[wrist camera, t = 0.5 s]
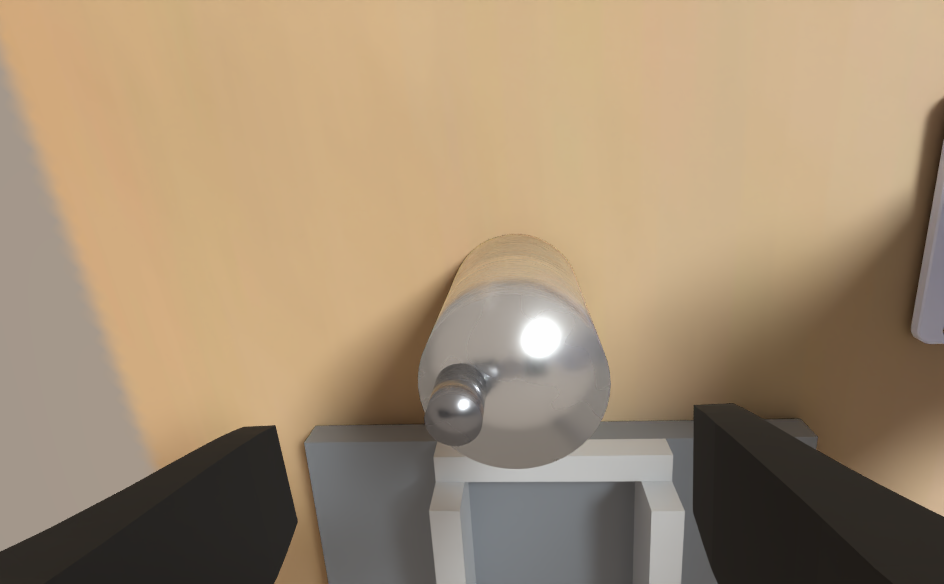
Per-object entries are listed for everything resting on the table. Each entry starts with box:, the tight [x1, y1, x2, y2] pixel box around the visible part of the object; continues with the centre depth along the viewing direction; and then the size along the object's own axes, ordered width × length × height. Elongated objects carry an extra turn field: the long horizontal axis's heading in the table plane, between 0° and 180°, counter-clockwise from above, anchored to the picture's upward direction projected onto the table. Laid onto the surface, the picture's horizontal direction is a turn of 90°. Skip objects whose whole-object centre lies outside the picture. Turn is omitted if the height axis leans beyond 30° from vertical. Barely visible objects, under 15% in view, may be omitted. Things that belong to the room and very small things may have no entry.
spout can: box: [418, 234, 611, 469], centre depth 15 cm, size 4×4×8 cm
